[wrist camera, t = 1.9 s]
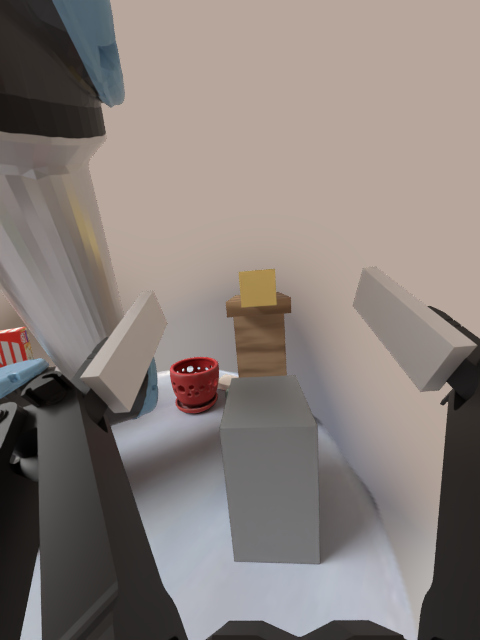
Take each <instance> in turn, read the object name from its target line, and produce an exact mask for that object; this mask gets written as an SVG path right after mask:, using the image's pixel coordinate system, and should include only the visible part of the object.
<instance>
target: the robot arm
mask: <svg viewBox="0 0 480 640" xmlns="http://www.w3.org/2000/svg"><path fill="white" fill-rule="evenodd" d="M124 95H125V92H124V83H123V74H122V70H121V65H120V59H119V53H118V49H117V44H116V41H115V33H114V24H113V15H112V10H111V5H110V0H0V291H1V292H2V294H3V295H4V296H5V298H6V299H7V300H8V302H9V303H10V304H11V306H12V307H13V308H14V310H15V311H16V312H17V314H18V315H19V316H20V318H21V319H22V320H23V322H24V323H25V325H26V326H27V327H28V329H29V330H30V331H31V332H32V334H33V335H34V337H35V338H36V339H37V341H38V342H39V343H40V345H41V346H42V347H43V349H44V350H45V351H46V353H47V354H48V355H49V357H50V358H51V359H52V361H53V362H54V363H55V365H56V367H48V366H49V363H47V362H46V360H44V359H31V360H26V361H22V362H18V363H15V364H11V365H7V366H4V367H1V368H0V640H20V636H21V631H22V626H23V621H24V617H25V612H26V607H27V602H28V597H29V592H30V587H31V582H32V577H33V572H34V567H35V562H36V557H37V552H38V547H39V543H40V570H41V616H42V640H188V638H187V635H186V633H185V630H184V627H183V624H182V621H181V618H180V615H179V613H178V610H177V608H176V606H175V604H174V602H173V600H172V598H171V597H170V595H169V594H168V593H167V591H166V590H165V588H164V586H163V584H162V581H161V578H160V575H159V572H158V569H157V566H156V563H155V560H154V557H153V554H152V551H151V548H150V545H149V542H148V539H147V536H146V533H145V530H144V527H143V524H142V521H141V518H140V514H139V511H138V508H137V505H136V502H135V499H134V496H133V493H132V490H131V487H130V484H129V481H128V478H127V475H126V472H125V469H124V466H123V463H122V460H121V457H120V454H119V451H118V448H117V445H116V442H115V439H114V436H113V433H112V429H111V426H112V425H115V424H118V423H121V422H124V421H127V420H130V419H137V418H139V417H140V416H141V415H144V414H147V413H149V412H151V411H153V410H154V408H155V407H156V405H157V401H158V386H157V370H156V364H155V360H154V354H155V352H156V349H157V347H158V344H159V342H160V340H161V337H162V335H163V333H164V330H165V328H166V325H167V321H166V319H165V316H164V314H163V312H162V309H161V307H160V305H159V303H158V301H157V298H156V296H155V293H154V291H144V292H142V293H141V294H140V295H139V297H138V298H137V299H136V301H135V302H134V303H133V305H132V306H131V308H130V309H129V310H128V312H127V313H126V315H125V316H124V313H123V308H122V304H121V300H120V296H119V292H118V288H117V283H116V279H115V275H114V271H113V267H112V263H111V258H110V254H109V250H108V246H107V242H106V238H105V234H104V229H103V225H102V221H101V217H100V213H99V209H98V205H97V200H96V196H95V192H94V188H93V184H92V180H91V176H90V171H89V167H88V166H89V160H90V158H91V157H92V156H93V155H94V154H95V152H96V151H97V150H98V149H99V148H100V147H101V145H102V144H103V143H104V142H105V140H106V131H105V126H104V120H103V114H102V109H101V103H105V104H106V105H108V106H109V107H113V106H114V105H120V104H122V103H123V101H124ZM353 307H354V308H355V309H356V310H357V312H358V313H359V314H360V315H361V317H362V318H363V319H364V320H365V322H366V323H367V324H368V325H369V327H370V328H371V329H372V331H373V332H374V333H375V335H376V336H377V337H378V338H379V340H380V341H381V342H382V343H383V345H384V346H385V347H386V348H387V350H388V351H389V352H390V354H391V355H392V356H393V357H394V359H395V360H396V361H397V362H398V364H399V365H400V366H401V368H402V369H403V370H404V371H405V373H406V374H407V375H408V376H409V378H410V379H411V380H412V381H413V383H414V384H415V385H416V387H417V388H418V389H419V390H420V391H421V392H423V391H437V390H440V389H441V388H442V386H443V385H444V384H445V383H446V382H448V384H449V385H450V386H451V387H452V388H453V389H452V390H451V391H450V392H449V393H448V395H447V396H446V397H445V398H444V399H443V400H442V401H441V403H440V404H441V405H444V404H445V403H446V402H448V413H447V424H446V436H445V447H444V459H443V471H442V482H441V494H440V506H439V517H438V529H437V540H436V552H435V564H434V575H433V582H432V585H431V587H430V589H429V591H428V592H427V594H426V595H425V597H424V600H423V603H422V608H421V614H420V622H419V632H418V640H480V339H479V338H478V337H477V336H475V335H474V334H472V333H471V332H470V331H468V330H467V329H466V328H464V327H463V326H462V327H461V325H460V324H459V323H458V322H456V321H455V320H453V319H452V318H451V317H450V316H448V315H447V314H446V313H444V312H442V311H440V310H438V309H436V308H434V307H431V306H426V305H425V304H424V303H422V302H421V301H420V300H418V299H417V298H416V297H415V296H413V295H412V294H411V293H409V292H408V291H407V290H405V289H404V288H403V287H402V286H400V285H399V284H398V283H396V282H395V281H394V280H392V279H391V278H390V277H389V276H387V275H386V274H385V273H384V272H382V271H381V270H379V269H378V268H377V267H369V268H363V270H362V274H361V278H360V281H359V285H358V288H357V292H356V296H355V300H354V303H353ZM206 640H406V639H404V637H403V635H401V634H399V633H397V632H394V631H392V630H390V629H387V628H385V627H383V626H381V625H378V624H376V623H374V622H371V621H369V620H333V621H331V622H330V623H328V624H326V625H324V626H322V627H320V628H318V629H316V630H314V631H312V632H310V633H308V634H306V635H304V636H302V637H297V636H295V635H292V634H290V633H288V632H286V631H284V630H282V629H279V628H277V627H275V626H273V625H271V624H268V623H266V622H264V621H228V622H227V623H226V624H225V625H224V626H223V627H221V628H220V629H219V630H218V631H216V632H215V633H213V634H212V635H211V636H210V637H208V638H207V639H206Z"/></svg>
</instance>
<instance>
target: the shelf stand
mask: <svg viewBox="0 0 480 640" xmlns="http://www.w3.org/2000/svg"><path fill="white" fill-rule="evenodd" d="M276 301H277V305H270V306H256V307H241V295H235V296H234V297H233V298H231V299H230V300H228V301H227V302H226V310H227V317H233V318H234V329H235V340H236V352H237V363H238V374H239V378H244V377H266V376H287V372H286V351H285V329H284V328H285V327H284V313H291V297H289V296H286V295H284V294H282V293H279V292H276Z"/></svg>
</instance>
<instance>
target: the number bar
mask: <svg viewBox="0 0 480 640" xmlns="http://www.w3.org/2000/svg"><path fill="white" fill-rule="evenodd" d="M239 282H240V293H241V307H256V306H270V305H277V301H276V281H275V269H267V270H255V271H245V272H239Z"/></svg>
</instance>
